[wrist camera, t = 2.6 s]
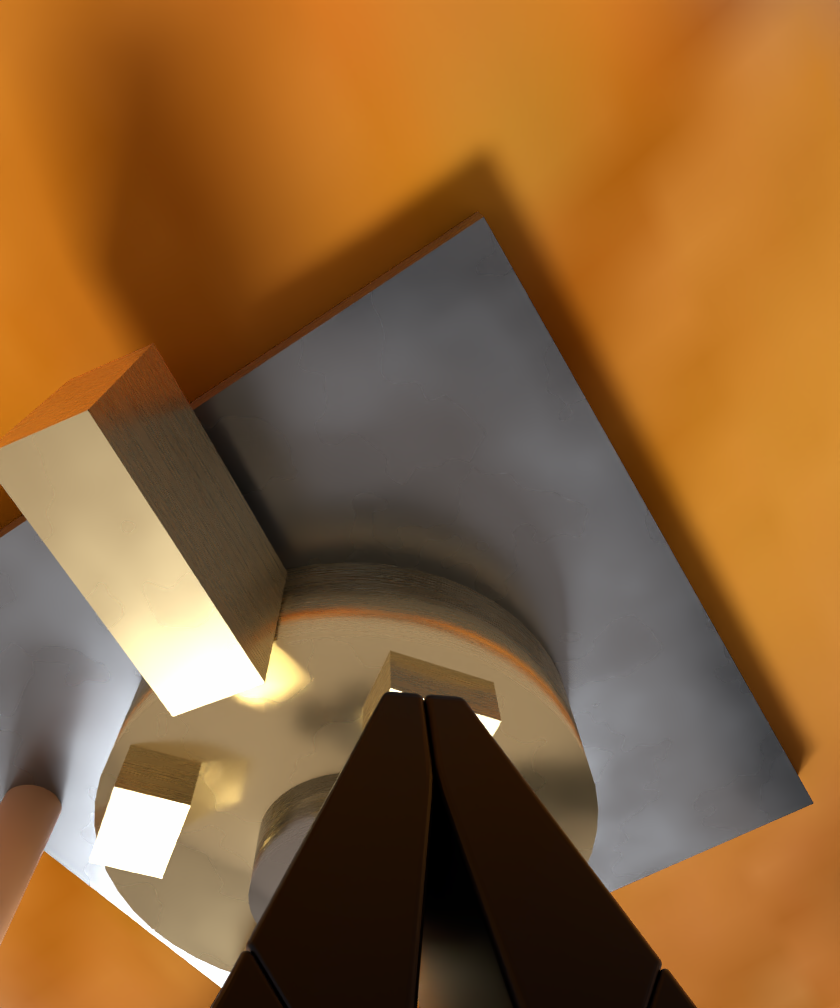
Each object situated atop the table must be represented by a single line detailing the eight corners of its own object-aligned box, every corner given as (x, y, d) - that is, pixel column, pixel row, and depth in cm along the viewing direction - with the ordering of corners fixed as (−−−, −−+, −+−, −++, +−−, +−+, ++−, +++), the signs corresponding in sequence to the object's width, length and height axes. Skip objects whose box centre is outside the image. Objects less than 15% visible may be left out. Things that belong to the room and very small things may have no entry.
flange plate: (477, 211, 16) (483, 216, 16) (797, 778, 25) (813, 803, 24) (-170, 642, 21) (-194, 666, 20) (285, 1006, 29) (282, 1035, 28)
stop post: (46, 750, 23) (-58, 948, 17) (85, 783, 23) (-4, 983, 18) (6, 773, 23) (-108, 974, 18) (45, 805, 24) (-53, 1008, 18)
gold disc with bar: (621, 822, 23) (673, 975, 19) (261, 936, 25) (237, 1099, 21) (378, 241, 15) (378, 288, 11) (-123, 462, 17) (-283, 573, 13)
